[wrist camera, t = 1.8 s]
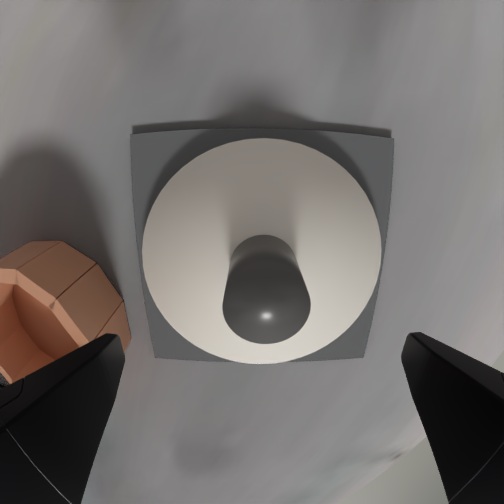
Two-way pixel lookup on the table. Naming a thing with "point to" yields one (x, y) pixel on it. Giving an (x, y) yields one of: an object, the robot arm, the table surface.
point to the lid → (261, 251)
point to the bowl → (53, 306)
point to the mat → (202, 140)
